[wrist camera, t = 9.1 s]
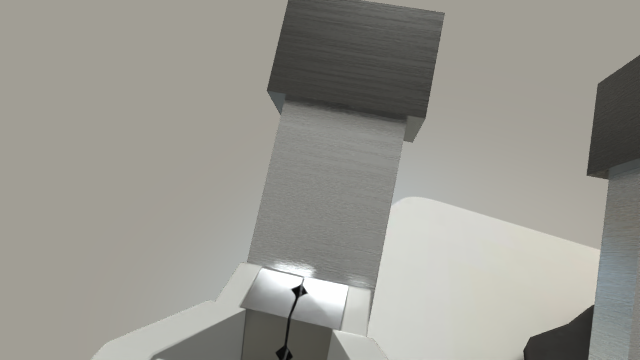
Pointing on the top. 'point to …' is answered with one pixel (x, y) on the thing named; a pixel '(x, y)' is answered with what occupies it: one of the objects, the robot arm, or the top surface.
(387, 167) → the lever left
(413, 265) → the top surface
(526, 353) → the casserole
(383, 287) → the top surface
